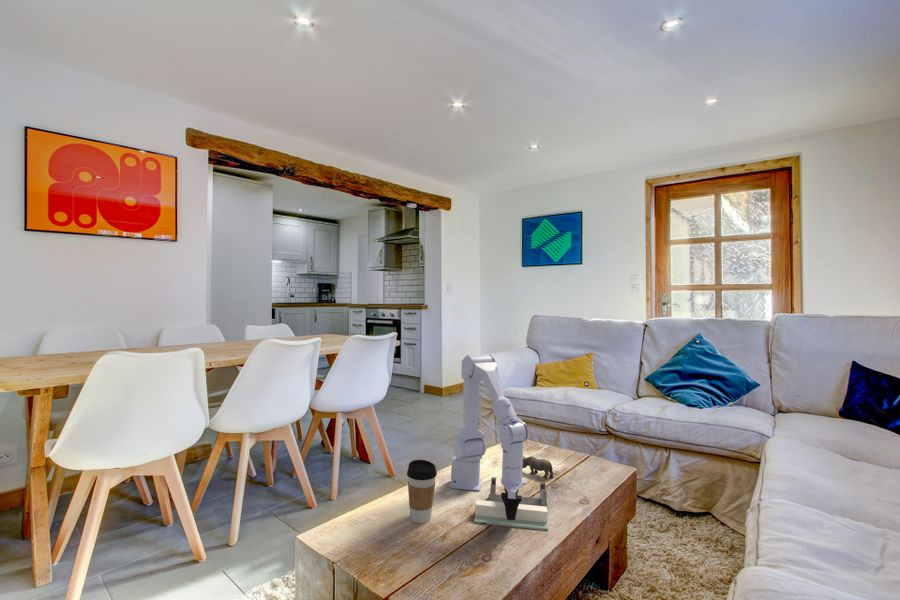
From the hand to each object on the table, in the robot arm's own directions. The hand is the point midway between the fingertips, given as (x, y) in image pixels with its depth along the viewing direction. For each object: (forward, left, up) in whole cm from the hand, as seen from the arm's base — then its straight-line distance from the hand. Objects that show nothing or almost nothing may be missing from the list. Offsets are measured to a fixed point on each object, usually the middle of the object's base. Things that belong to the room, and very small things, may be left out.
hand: (510, 512), depth 122 cm
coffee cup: (-25, -5, -2) cm, 26 cm away
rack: (+2, +9, -2) cm, 9 cm away
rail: (0, 0, -1) cm, 1 cm away
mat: (0, 0, -2) cm, 2 cm away
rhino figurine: (+8, +33, -2) cm, 34 cm away
